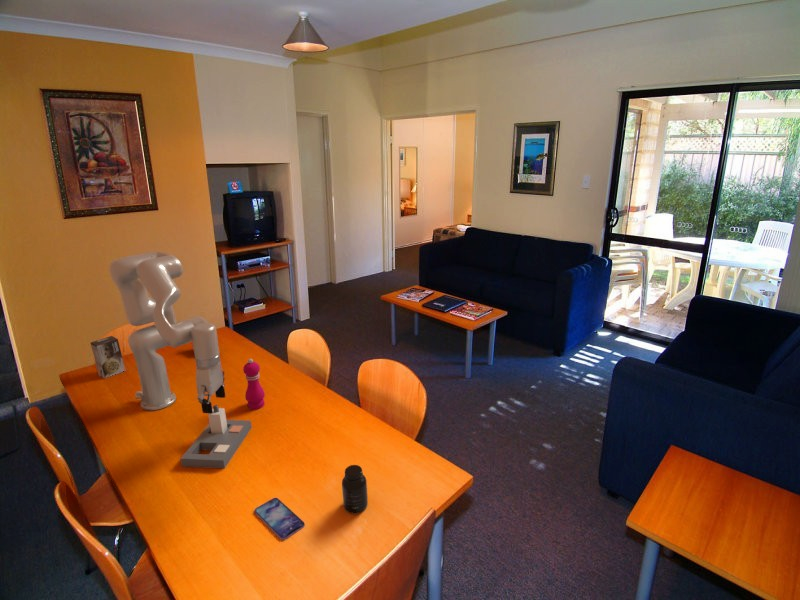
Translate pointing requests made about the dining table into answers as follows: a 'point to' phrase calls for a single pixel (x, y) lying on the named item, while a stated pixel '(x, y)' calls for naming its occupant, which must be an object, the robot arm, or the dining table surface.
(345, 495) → the supplement bottle
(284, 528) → the smartphone
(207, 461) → the socket board
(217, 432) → the plug
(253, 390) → the pepper mill
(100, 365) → the coffee box
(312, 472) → the dining table surface
